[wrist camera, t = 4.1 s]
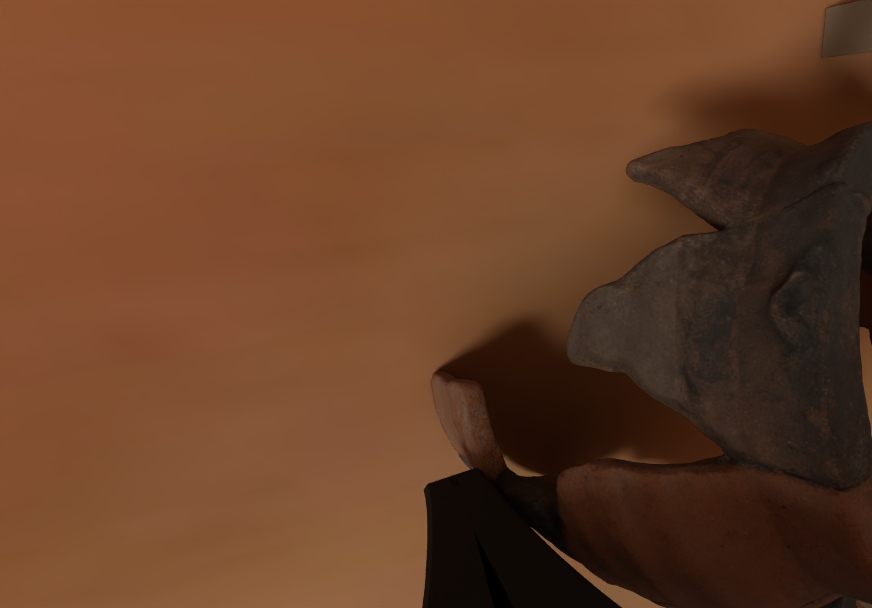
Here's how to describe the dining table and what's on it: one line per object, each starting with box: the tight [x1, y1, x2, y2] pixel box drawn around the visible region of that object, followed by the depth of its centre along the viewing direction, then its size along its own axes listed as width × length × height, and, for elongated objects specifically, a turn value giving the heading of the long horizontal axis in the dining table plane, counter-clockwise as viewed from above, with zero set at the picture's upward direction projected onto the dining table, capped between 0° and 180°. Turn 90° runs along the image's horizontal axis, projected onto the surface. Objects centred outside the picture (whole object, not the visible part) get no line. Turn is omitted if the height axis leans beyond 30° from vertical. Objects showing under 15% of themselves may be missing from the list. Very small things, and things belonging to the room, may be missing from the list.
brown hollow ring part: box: [431, 122, 872, 608], centre depth 11 cm, size 12×10×8 cm
